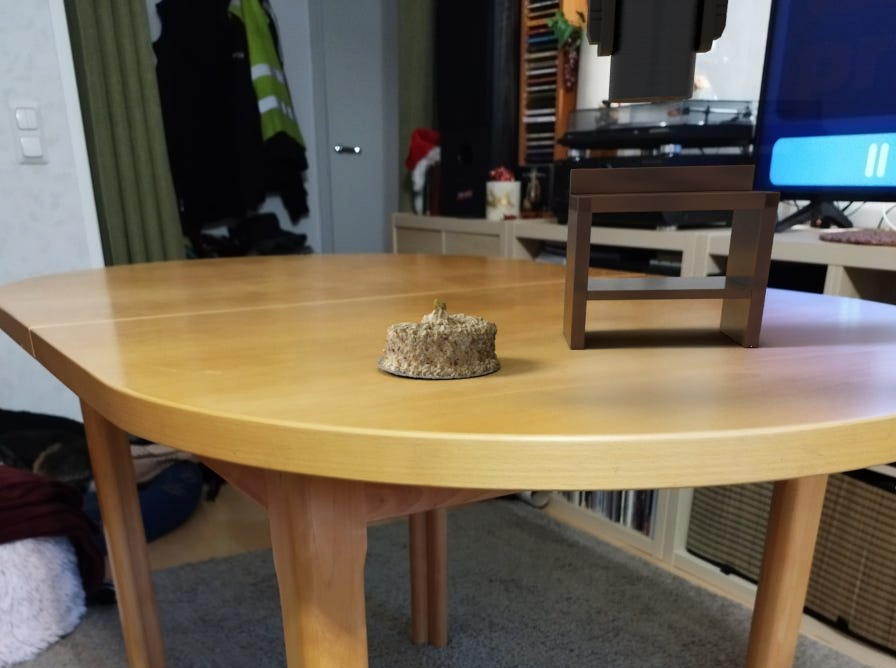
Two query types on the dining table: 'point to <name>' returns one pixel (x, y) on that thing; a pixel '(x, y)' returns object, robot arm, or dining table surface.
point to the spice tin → (654, 50)
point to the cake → (441, 346)
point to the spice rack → (674, 193)
